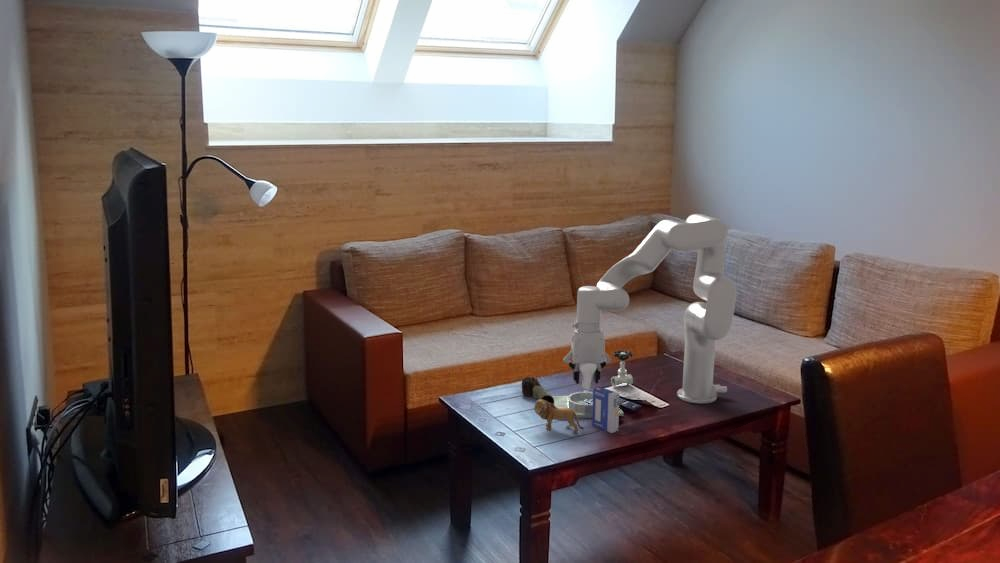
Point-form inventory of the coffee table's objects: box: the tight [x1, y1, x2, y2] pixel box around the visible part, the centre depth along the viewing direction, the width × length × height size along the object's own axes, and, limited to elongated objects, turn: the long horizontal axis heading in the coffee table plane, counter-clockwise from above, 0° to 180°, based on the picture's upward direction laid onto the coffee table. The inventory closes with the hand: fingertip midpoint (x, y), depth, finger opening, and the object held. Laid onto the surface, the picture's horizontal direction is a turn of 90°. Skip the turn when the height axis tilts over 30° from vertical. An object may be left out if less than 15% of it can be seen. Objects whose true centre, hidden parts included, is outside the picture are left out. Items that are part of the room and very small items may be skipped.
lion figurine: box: [533, 399, 585, 434], centre depth 235 cm, size 15×5×9 cm, turn 83°
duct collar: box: [551, 391, 625, 420], centre depth 252 cm, size 20×16×3 cm
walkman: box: [591, 386, 620, 434], centre depth 236 cm, size 8×3×12 cm, turn 42°
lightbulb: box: [578, 363, 597, 390], centre depth 250 cm, size 6×6×11 cm
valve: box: [610, 349, 634, 387], centre depth 270 cm, size 7×7×12 cm
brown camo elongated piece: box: [521, 376, 554, 404], centre depth 260 cm, size 18×7×6 cm, turn 17°
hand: (586, 381), depth 250 cm, fingers closed on lightbulb, 5 cm apart
